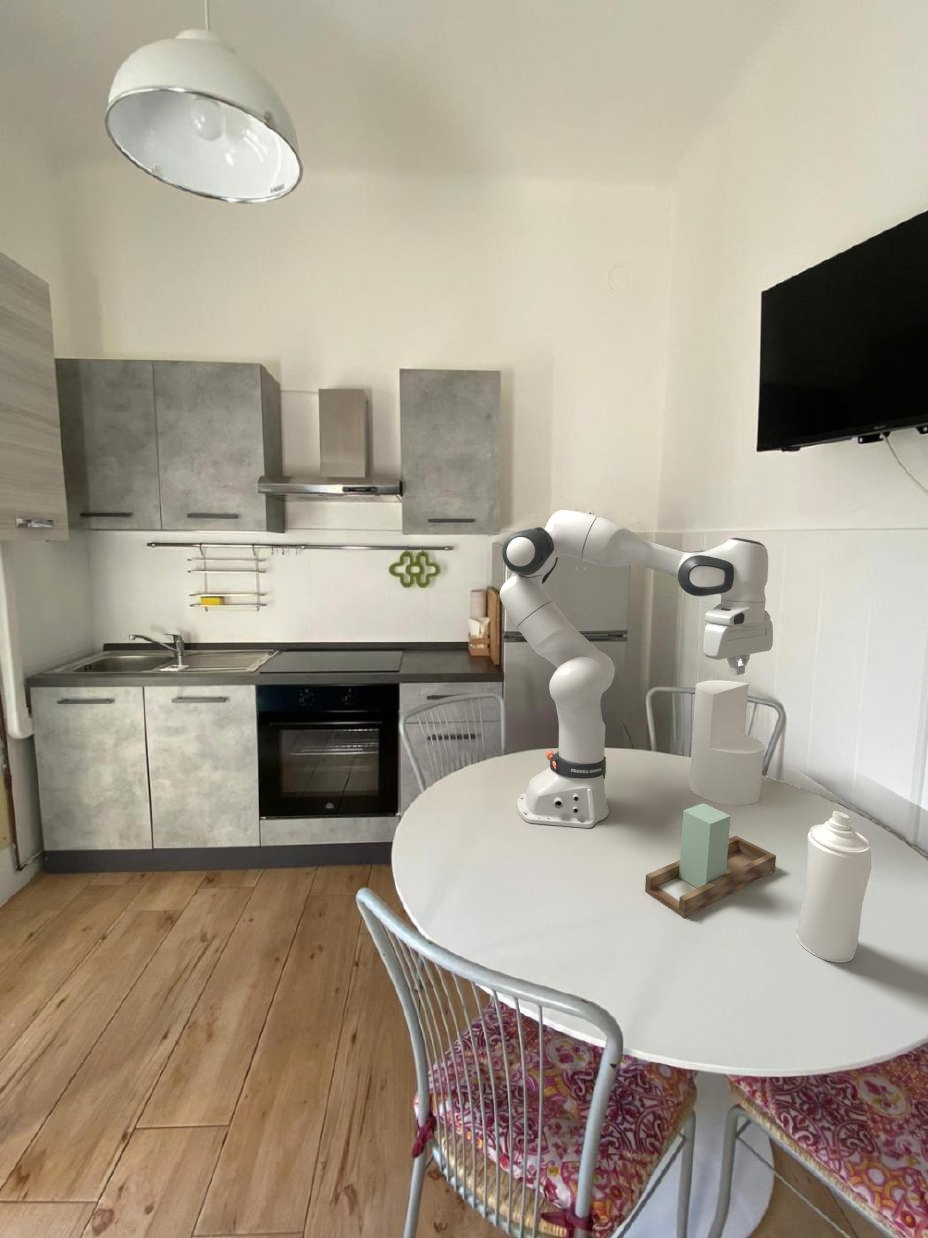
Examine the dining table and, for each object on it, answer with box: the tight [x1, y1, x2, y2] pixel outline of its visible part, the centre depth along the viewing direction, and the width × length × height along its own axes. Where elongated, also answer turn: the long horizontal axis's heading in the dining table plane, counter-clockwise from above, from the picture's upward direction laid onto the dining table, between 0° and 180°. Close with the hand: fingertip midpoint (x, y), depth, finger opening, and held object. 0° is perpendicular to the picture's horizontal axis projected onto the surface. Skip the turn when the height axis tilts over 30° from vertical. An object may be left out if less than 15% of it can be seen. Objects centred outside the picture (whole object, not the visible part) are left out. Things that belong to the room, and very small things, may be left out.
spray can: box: [795, 810, 872, 964], centre depth 95 cm, size 12×11×25 cm
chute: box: [644, 835, 777, 919], centre depth 115 cm, size 28×9×4 cm, turn 121°
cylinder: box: [688, 679, 765, 806], centre depth 153 cm, size 17×17×28 cm
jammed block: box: [679, 802, 731, 888], centre depth 113 cm, size 6×6×14 cm
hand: (737, 674), depth 130 cm, fingers closed
